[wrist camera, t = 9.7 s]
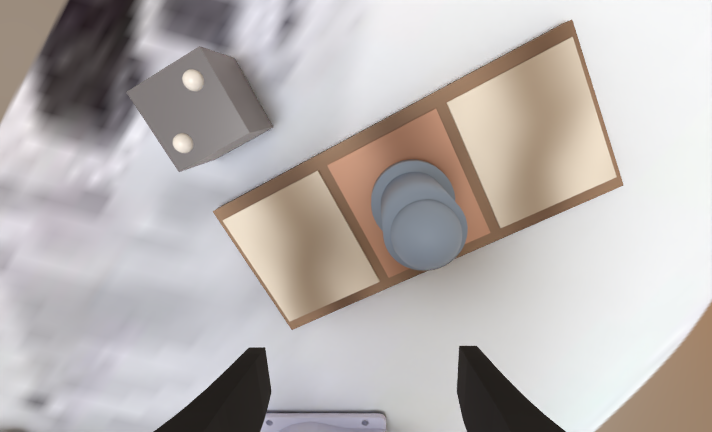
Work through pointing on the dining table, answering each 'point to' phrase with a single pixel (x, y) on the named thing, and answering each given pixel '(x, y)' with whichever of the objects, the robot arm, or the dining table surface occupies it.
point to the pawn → (418, 215)
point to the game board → (451, 156)
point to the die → (200, 108)
